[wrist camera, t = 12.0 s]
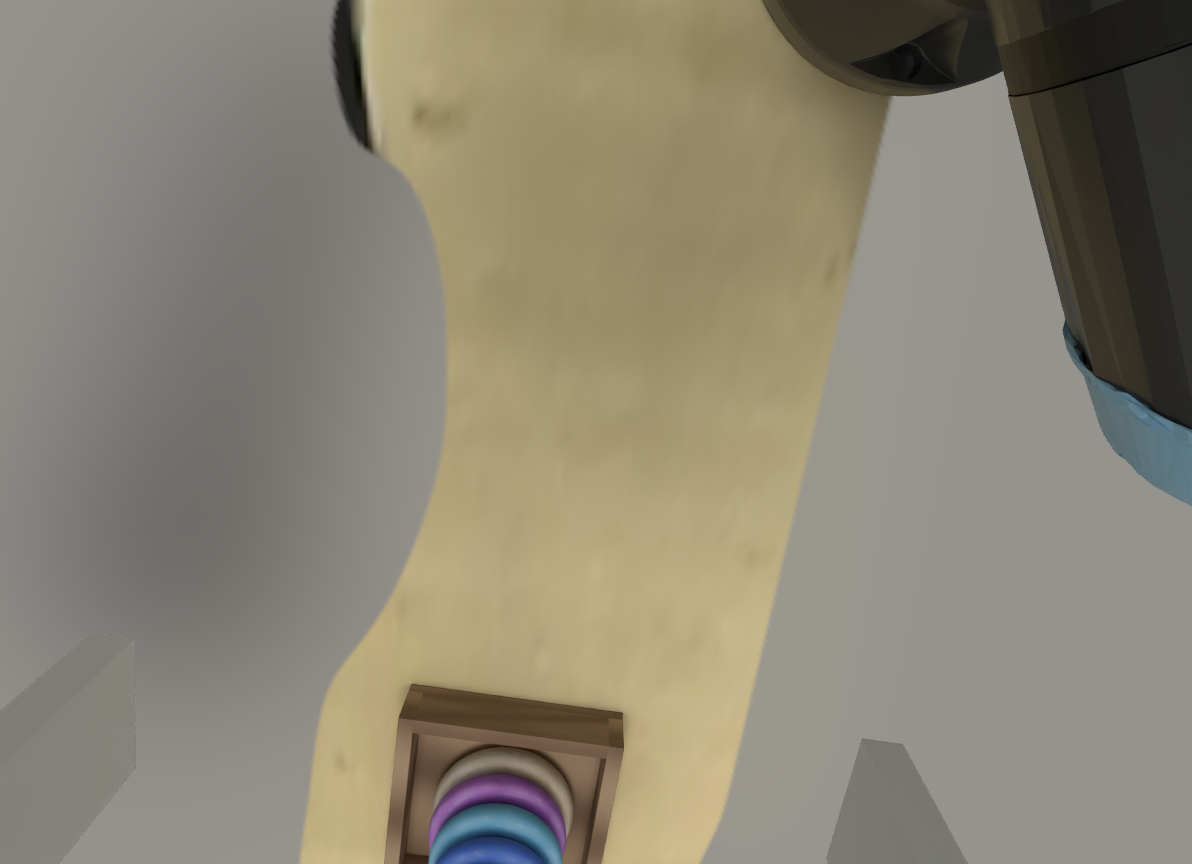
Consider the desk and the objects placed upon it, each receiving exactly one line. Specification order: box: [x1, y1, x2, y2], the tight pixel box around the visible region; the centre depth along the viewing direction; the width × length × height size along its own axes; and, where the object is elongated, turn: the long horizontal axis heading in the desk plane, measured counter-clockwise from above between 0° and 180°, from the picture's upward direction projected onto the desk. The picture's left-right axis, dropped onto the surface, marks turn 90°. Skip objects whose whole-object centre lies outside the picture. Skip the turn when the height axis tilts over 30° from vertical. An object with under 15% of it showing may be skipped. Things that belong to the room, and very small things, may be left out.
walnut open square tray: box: [384, 684, 624, 864], centre depth 46 cm, size 12×12×3 cm
